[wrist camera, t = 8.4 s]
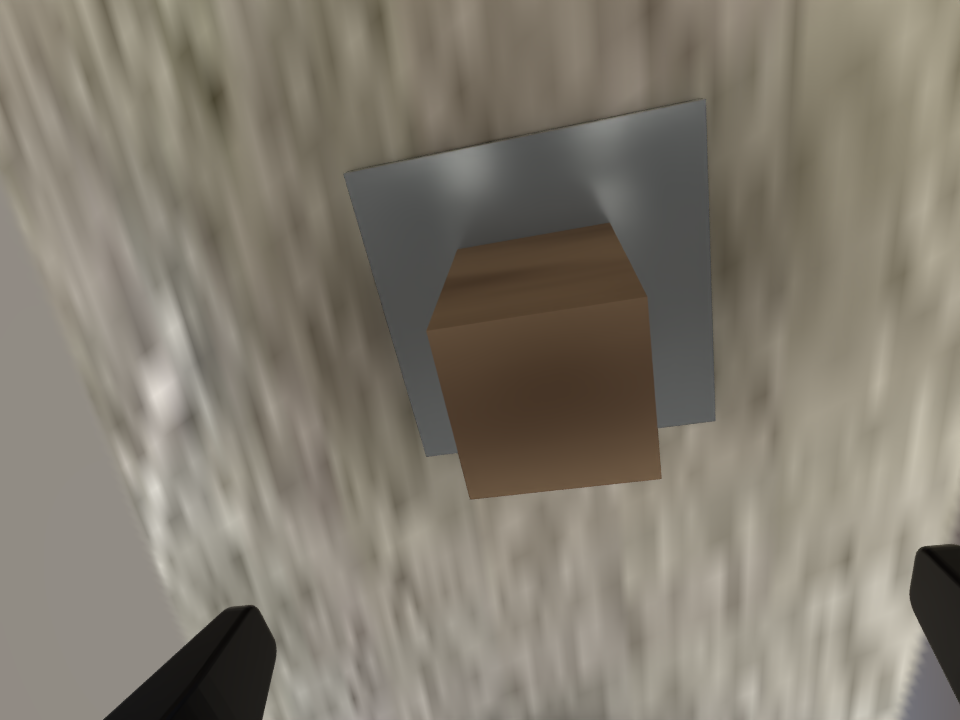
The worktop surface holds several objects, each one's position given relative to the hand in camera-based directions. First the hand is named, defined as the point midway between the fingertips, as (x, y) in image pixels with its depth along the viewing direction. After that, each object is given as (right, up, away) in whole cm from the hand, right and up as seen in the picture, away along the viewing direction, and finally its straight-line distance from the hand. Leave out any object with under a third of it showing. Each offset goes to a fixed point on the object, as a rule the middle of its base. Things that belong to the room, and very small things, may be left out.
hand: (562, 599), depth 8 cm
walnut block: (+1, +5, +10) cm, 11 cm away
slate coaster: (+1, +5, +10) cm, 12 cm away
